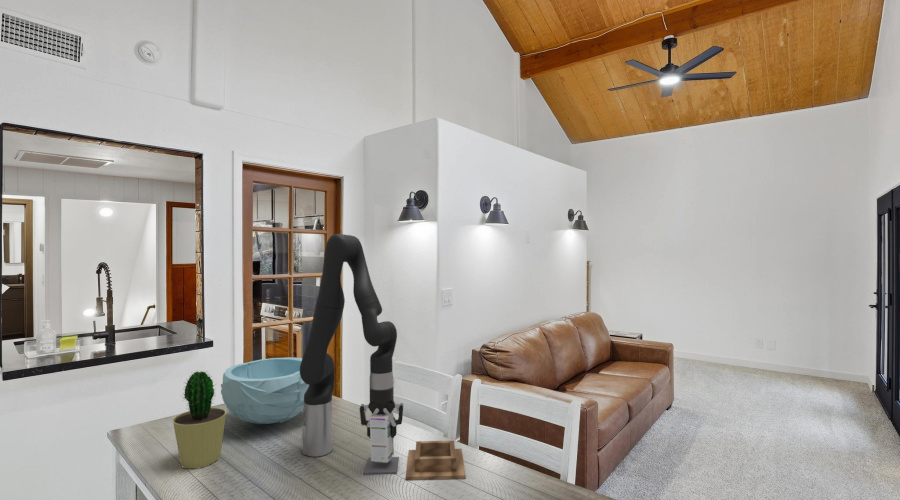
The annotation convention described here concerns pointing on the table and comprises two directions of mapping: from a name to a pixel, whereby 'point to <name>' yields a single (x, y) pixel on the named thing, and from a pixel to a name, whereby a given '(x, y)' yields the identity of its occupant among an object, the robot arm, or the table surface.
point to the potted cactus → (199, 424)
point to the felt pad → (382, 467)
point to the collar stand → (435, 461)
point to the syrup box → (381, 438)
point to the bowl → (264, 390)
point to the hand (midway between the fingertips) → (382, 437)
